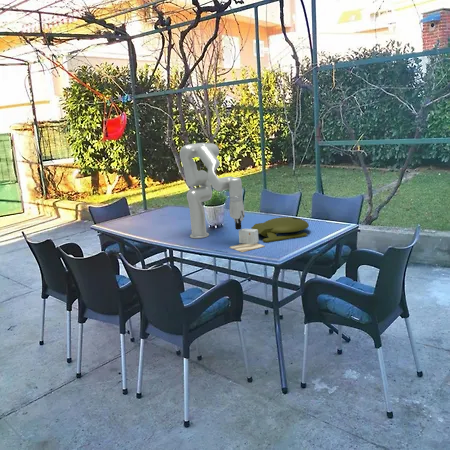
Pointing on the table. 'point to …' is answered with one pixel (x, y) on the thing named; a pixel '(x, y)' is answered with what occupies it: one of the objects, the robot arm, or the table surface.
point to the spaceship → (281, 228)
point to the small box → (248, 236)
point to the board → (246, 247)
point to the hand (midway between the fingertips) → (238, 229)
